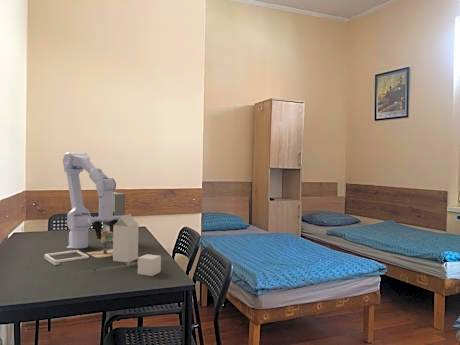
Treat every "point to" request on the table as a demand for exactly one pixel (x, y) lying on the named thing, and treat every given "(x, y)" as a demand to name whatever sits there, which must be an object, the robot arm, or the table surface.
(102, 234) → the collar
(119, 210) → the tall grey upright box
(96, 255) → the tan base plate
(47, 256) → the tray
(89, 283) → the table surface
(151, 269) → the white cube
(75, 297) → the table surface
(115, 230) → the milk carton
